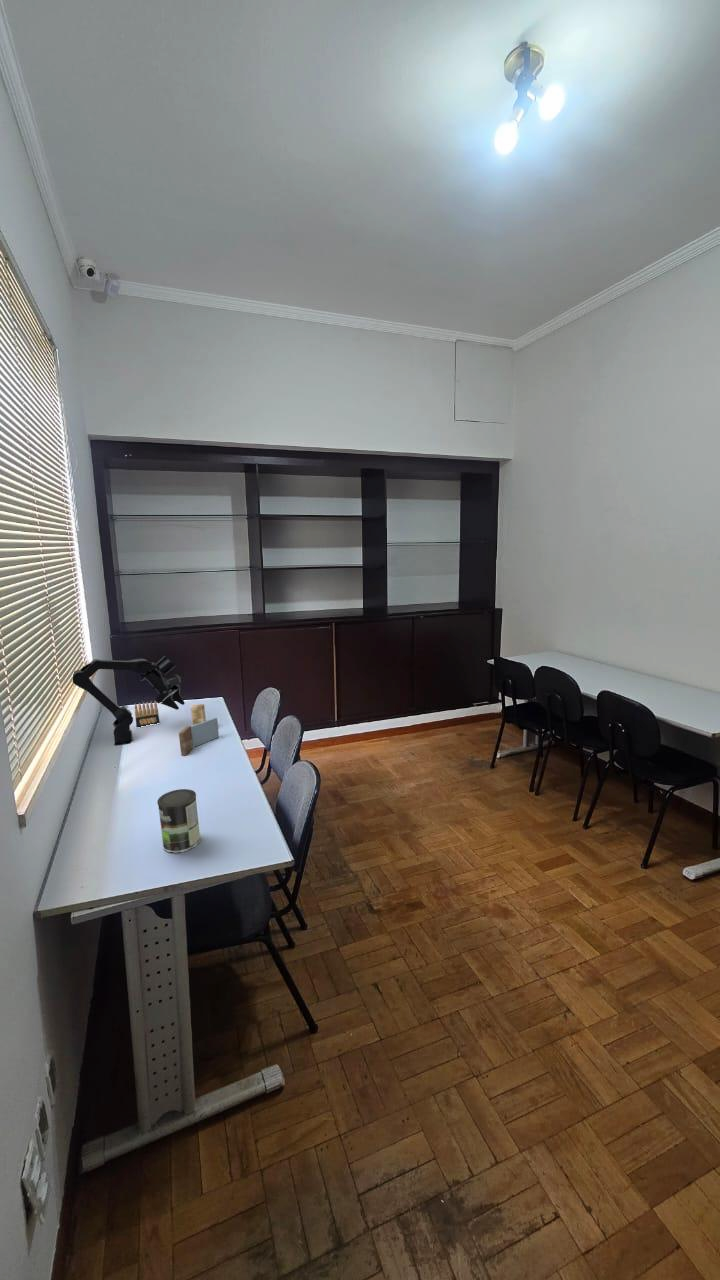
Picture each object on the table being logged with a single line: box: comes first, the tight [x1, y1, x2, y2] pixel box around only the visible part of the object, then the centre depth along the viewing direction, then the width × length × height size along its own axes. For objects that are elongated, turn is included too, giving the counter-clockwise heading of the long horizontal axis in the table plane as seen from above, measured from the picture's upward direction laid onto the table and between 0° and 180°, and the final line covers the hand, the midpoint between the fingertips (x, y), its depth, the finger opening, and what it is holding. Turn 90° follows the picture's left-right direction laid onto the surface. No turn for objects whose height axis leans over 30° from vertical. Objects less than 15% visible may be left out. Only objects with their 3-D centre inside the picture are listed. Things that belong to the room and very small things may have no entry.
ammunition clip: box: [134, 700, 161, 728], centre depth 249 cm, size 11×2×12 cm, turn 113°
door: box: [190, 717, 220, 748], centre depth 223 cm, size 1×13×9 cm, turn 142°
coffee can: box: [157, 788, 201, 854], centre depth 146 cm, size 10×10×14 cm
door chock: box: [190, 703, 207, 725], centre depth 237 cm, size 5×4×12 cm
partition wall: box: [178, 725, 194, 757], centre depth 213 cm, size 2×8×10 cm, turn 177°
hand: (181, 706), depth 235 cm, fingers open, 9 cm apart
